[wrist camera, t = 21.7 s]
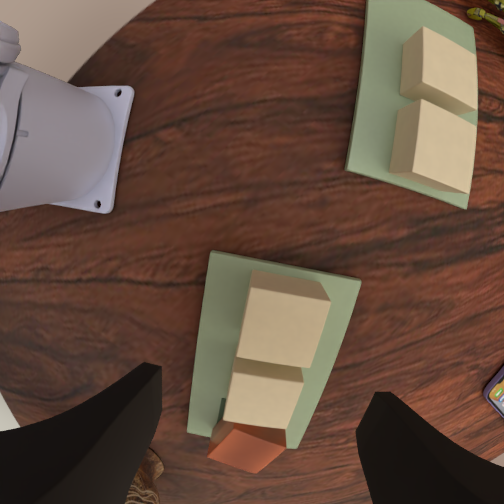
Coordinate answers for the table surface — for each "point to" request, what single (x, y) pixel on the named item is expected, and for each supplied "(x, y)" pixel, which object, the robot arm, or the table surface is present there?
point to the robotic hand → (501, 2)
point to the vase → (146, 481)
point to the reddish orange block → (245, 445)
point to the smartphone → (496, 392)
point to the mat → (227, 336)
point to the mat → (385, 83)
